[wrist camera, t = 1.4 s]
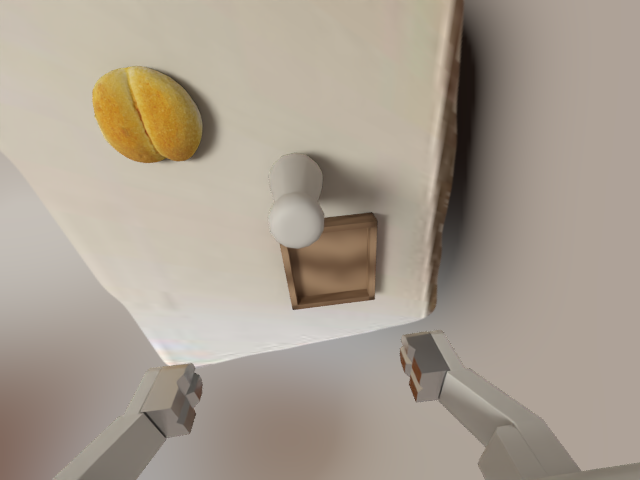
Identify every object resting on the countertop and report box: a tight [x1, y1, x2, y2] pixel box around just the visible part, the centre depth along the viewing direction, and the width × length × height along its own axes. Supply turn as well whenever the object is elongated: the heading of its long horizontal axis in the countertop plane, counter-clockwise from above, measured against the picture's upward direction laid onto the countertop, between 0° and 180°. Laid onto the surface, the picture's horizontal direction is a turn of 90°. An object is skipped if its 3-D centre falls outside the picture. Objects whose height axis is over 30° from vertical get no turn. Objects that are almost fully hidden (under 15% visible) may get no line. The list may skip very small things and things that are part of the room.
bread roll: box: [93, 66, 203, 163], centre depth 24 cm, size 8×9×4 cm
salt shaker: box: [268, 153, 324, 249], centre depth 24 cm, size 6×6×13 cm
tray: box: [280, 212, 377, 310], centre depth 36 cm, size 13×12×2 cm
